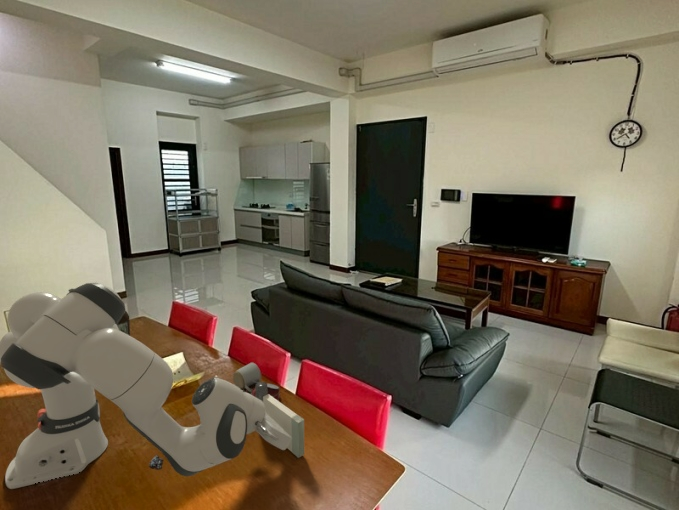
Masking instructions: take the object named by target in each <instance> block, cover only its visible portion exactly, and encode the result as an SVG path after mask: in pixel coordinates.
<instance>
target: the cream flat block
mask: <svg viewBox="0 0 679 510" xmlns="http://www.w3.org/2000/svg"><path fill="white" fill-rule="evenodd" d="M263 403H264V405H265V412H266V413H267V414H268V415H269V416H270V417H271V418H272V419H273V420H274V421H275V422H276V423H277V424H278V425H280V426H281V427H282V428H283V429H284V430H285V431H286V432H287V433H288V434H289V435H290V436H291V437H292V440H291V442H290V444H289V445H288V447H287V448H286V449H288V450H289V451H290V452H291V453H292V454H293V455H294V456H295V457H296V458H298V459H299V458H302V456H304V455H305V419H304V418H303V417H302V416H300V415H299V414H297V413H295V411H293V410H292V409H290V408H289V407H287V405H285V404H283V403H282V402H280V401H279V400H276V399H275V398H273V397H272V396H271V395H269V394H268V395H266V396H263Z"/></svg>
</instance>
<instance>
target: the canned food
mask: <svg viewBox="0 0 679 510" xmlns="http://www.w3.org/2000/svg"><path fill="white" fill-rule="evenodd" d="M251 382H254V383H255V384H257V383H259V382H256V381H253V380H252V381H251ZM252 389H253V390H252V392H250V394H251V395H253V396H254V397H256V388H255V387H253V388H252ZM267 394H269V395H271V396H272V397H273V398H275V399H276V400H278V401H279V400H280V387H279V386H278V385H275V384H273V383H267Z"/></svg>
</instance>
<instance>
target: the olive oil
mask: <svg viewBox="0 0 679 510" xmlns="http://www.w3.org/2000/svg"><path fill="white" fill-rule="evenodd" d="M130 321H131V320H130V315H129V313H128V312H127V310H125V313H124V315H123V316H122V318H121V319H120V321H119V322H118V323H117V324H116V325H117V326H118V329H119V331H121V332H124V333H126V334H127V335H129V336H131V325H130V324H131V323H130Z"/></svg>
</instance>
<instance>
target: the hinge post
mask: <svg viewBox="0 0 679 510" xmlns="http://www.w3.org/2000/svg"><path fill="white" fill-rule="evenodd" d="M267 384H268V383H267V382H265V381H261V382H258V383H255V384H254V386H255V387H254V388H256V398H258V399H260V400H261V401H262V402H263V396H266V395H268V394H267Z"/></svg>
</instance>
